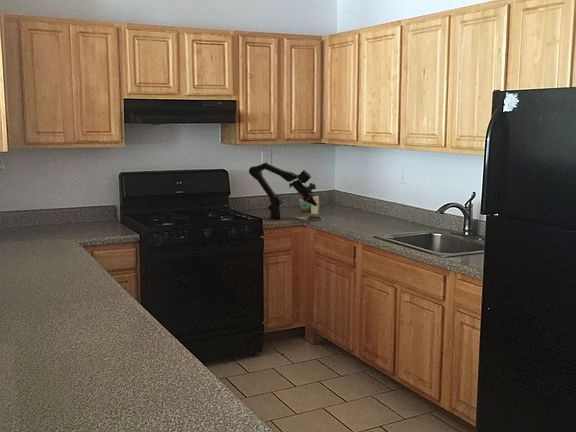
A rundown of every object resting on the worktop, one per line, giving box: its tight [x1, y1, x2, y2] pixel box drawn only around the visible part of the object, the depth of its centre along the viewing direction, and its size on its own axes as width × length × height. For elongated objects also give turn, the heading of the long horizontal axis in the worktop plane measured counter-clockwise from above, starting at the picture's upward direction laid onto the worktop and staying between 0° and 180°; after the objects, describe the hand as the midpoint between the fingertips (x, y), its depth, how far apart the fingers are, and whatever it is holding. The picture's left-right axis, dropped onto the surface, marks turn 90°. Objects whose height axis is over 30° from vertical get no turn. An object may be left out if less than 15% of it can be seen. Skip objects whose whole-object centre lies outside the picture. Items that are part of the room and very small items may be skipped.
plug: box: [310, 195, 320, 216], centre depth 429 cm, size 5×5×12 cm
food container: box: [298, 198, 311, 214], centre depth 461 cm, size 12×6×10 cm, turn 73°
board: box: [296, 215, 325, 222], centre depth 433 cm, size 14×17×2 cm
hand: (316, 205), depth 429 cm, fingers closed on plug, 4 cm apart
